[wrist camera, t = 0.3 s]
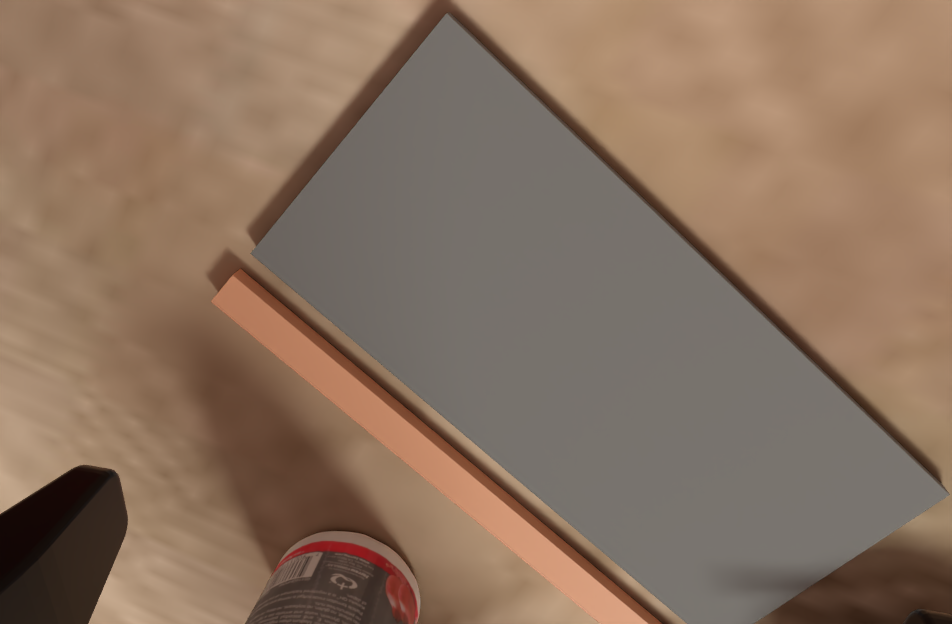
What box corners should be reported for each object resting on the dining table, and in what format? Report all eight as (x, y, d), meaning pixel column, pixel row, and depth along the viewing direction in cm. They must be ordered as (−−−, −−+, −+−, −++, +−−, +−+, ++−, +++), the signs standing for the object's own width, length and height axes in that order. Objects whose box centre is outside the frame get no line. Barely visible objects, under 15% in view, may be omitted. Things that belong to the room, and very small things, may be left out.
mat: (714, 637, 28) (716, 648, 27) (256, 248, 24) (250, 253, 24) (942, 484, 24) (949, 494, 24) (449, 12, 21) (446, 13, 21)
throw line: (668, 667, 28) (669, 681, 28) (219, 294, 25) (210, 301, 24) (694, 650, 28) (696, 663, 27) (240, 268, 25) (232, 274, 24)
